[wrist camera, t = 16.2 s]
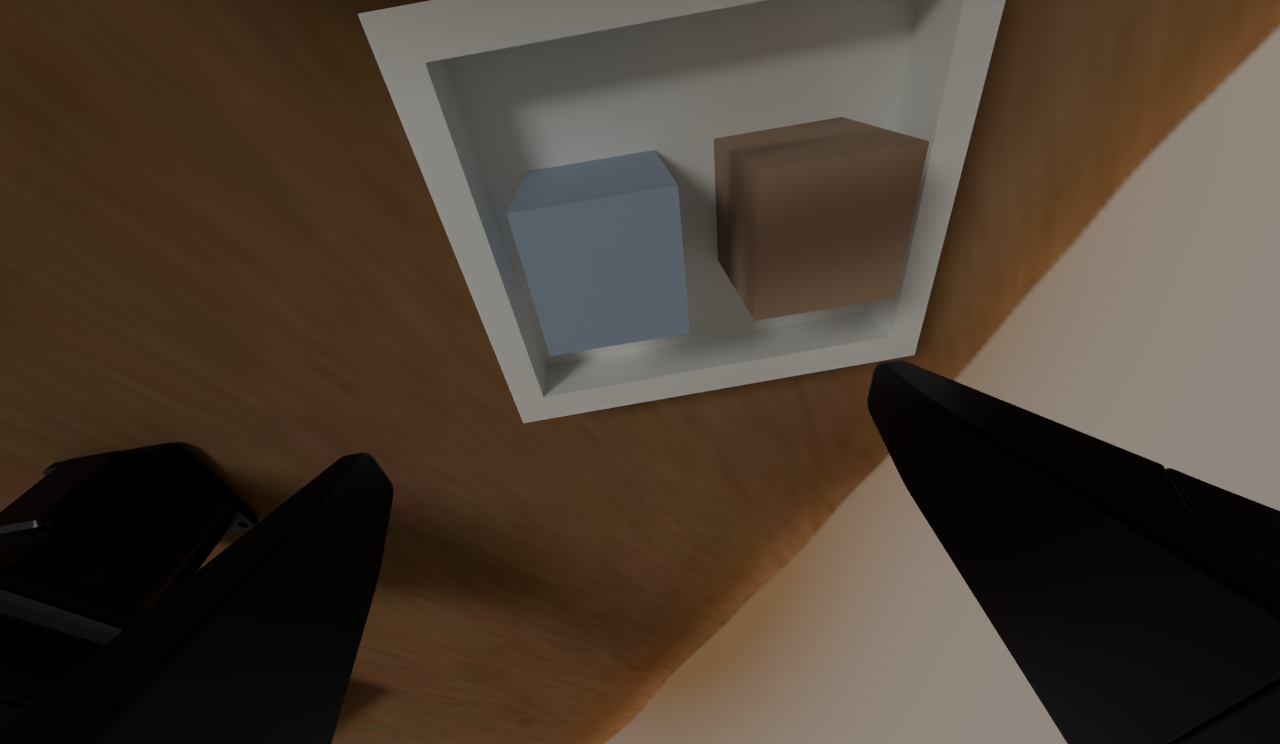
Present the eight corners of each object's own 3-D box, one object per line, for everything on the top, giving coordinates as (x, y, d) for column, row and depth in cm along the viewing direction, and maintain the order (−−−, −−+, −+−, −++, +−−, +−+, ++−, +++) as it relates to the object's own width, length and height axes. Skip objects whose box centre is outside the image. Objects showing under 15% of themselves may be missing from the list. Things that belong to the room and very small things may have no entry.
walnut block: (827, 242, 18) (895, 297, 14) (717, 260, 18) (754, 321, 14) (841, 117, 16) (929, 140, 12) (713, 138, 16) (756, 170, 12)
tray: (878, 320, 22) (914, 355, 19) (530, 381, 22) (523, 423, 20) (954, -83, 14) (1034, -111, 11) (398, 19, 14) (357, 13, 11)
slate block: (667, 270, 18) (690, 332, 14) (558, 288, 18) (550, 356, 14) (654, 149, 16) (677, 185, 12) (527, 170, 16) (506, 214, 12)
